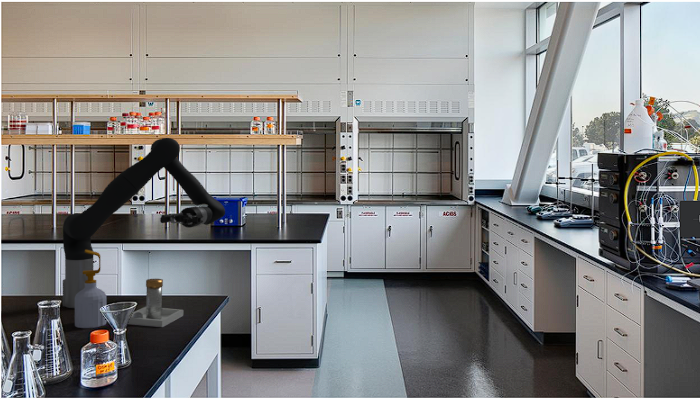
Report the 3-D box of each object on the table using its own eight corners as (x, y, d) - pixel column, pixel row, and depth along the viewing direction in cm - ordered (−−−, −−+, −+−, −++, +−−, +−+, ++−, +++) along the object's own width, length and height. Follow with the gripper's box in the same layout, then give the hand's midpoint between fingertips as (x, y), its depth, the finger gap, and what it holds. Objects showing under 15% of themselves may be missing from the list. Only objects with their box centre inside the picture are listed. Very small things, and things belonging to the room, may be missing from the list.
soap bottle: (75, 324, 184) (75, 248, 182) (106, 321, 188) (106, 247, 186) (74, 332, 176) (73, 252, 174) (106, 329, 179) (106, 251, 178)
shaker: (142, 320, 186) (142, 281, 186) (150, 316, 192) (151, 278, 191) (157, 321, 186) (157, 282, 185) (165, 317, 191) (165, 279, 190)
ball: (131, 322, 185) (131, 313, 184) (136, 319, 187) (136, 310, 187) (139, 323, 184) (139, 313, 184) (144, 320, 187) (144, 311, 187)
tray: (121, 326, 183) (121, 317, 183) (145, 315, 197) (145, 306, 197) (162, 330, 180) (162, 320, 180) (183, 318, 194) (183, 309, 194)
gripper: (176, 206, 220) (154, 209, 204) (211, 207, 217) (191, 211, 201) (176, 225, 220) (154, 230, 204) (211, 227, 217) (191, 232, 201)
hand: (172, 220), depth 203 cm, fingers open, 8 cm apart
